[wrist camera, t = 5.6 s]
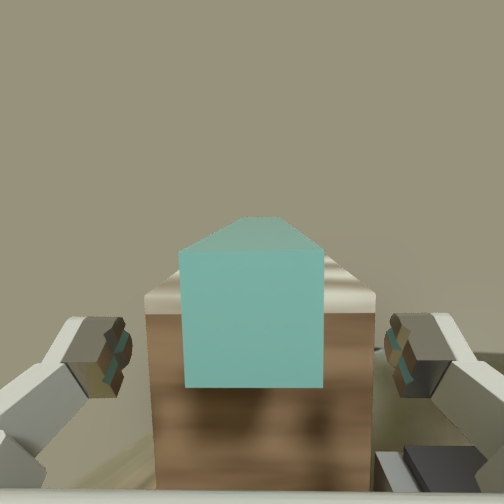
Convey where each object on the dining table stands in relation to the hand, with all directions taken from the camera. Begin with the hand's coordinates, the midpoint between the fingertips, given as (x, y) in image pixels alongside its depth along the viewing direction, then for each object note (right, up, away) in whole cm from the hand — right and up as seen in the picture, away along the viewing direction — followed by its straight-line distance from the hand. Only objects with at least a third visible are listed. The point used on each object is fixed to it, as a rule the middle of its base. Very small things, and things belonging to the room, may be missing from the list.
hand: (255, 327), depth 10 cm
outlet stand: (+1, -24, +19) cm, 31 cm away
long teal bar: (0, +1, +10) cm, 10 cm away
